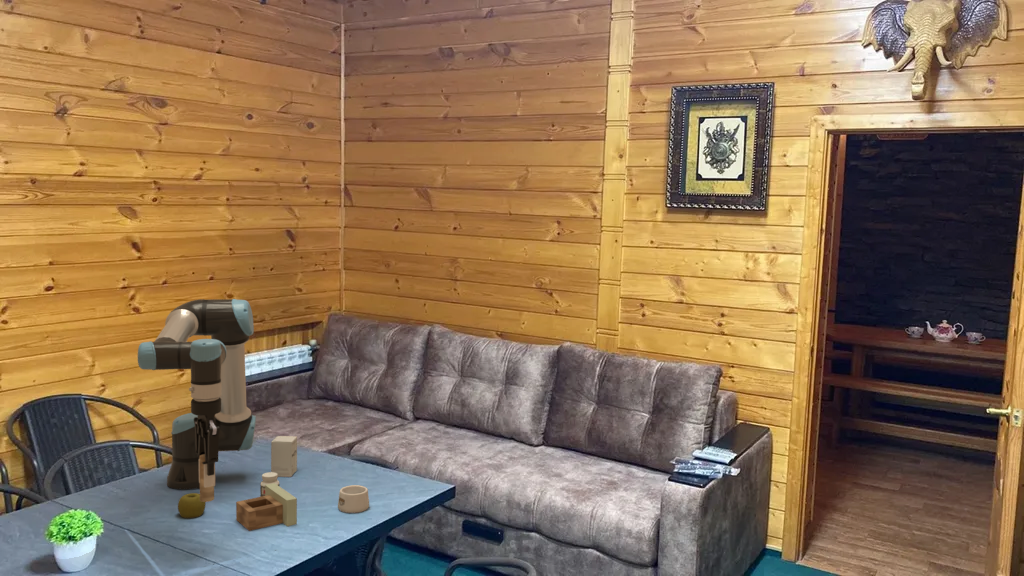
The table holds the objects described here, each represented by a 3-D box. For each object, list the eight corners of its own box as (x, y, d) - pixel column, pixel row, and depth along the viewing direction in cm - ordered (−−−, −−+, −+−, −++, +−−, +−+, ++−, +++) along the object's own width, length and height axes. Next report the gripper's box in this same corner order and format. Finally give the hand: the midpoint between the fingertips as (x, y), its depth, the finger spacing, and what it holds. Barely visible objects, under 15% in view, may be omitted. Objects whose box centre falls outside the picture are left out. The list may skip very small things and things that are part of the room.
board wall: (180, 532, 227) (180, 502, 226) (274, 511, 245) (274, 483, 244) (199, 552, 215) (198, 519, 214) (296, 528, 233) (296, 498, 232)
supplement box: (291, 477, 277) (291, 441, 275) (270, 476, 277) (270, 441, 276) (297, 470, 284) (297, 435, 283) (276, 469, 284) (276, 435, 283)
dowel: (197, 498, 213) (197, 455, 212) (211, 496, 216) (211, 453, 214) (202, 502, 211) (201, 458, 209) (216, 500, 213) (215, 456, 212)
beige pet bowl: (375, 509, 250) (375, 490, 249) (348, 516, 243) (349, 497, 242) (354, 498, 258) (354, 480, 258) (327, 505, 252) (328, 487, 251)
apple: (189, 525, 233) (188, 501, 232) (172, 519, 237) (171, 496, 236) (211, 517, 239) (210, 494, 238) (194, 511, 243) (193, 489, 243)
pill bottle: (273, 509, 247) (273, 478, 246) (256, 507, 248) (256, 476, 247) (282, 502, 252) (282, 472, 252) (266, 501, 254) (266, 470, 253)
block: (236, 519, 234) (236, 501, 234) (269, 512, 241) (269, 494, 240) (249, 530, 227) (249, 512, 226) (282, 523, 233) (282, 504, 232)
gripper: (181, 393, 214) (182, 478, 217) (201, 406, 202) (202, 496, 204) (210, 390, 219) (210, 473, 221) (231, 402, 206) (232, 490, 209)
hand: (207, 483), depth 213 cm, fingers closed on dowel, 3 cm apart
